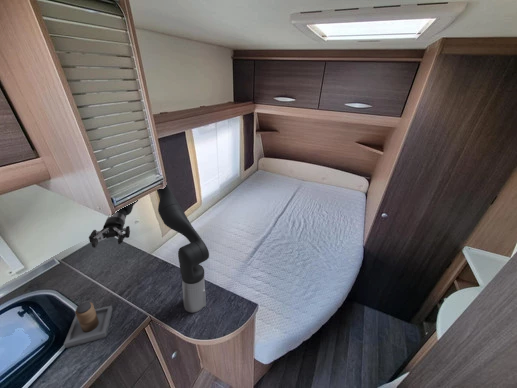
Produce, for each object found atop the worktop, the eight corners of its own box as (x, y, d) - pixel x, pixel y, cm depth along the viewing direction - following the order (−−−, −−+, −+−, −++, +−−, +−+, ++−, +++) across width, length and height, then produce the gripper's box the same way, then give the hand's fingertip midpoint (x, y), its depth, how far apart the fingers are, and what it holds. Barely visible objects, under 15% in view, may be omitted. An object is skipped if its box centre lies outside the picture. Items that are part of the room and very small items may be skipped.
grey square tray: (112, 309, 88) (111, 305, 87) (105, 337, 78) (104, 333, 77) (77, 317, 83) (76, 313, 82) (65, 348, 74) (63, 344, 73)
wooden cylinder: (100, 317, 84) (94, 298, 79) (96, 329, 79) (90, 310, 75) (84, 321, 82) (77, 302, 77) (80, 334, 77) (72, 314, 73)
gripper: (94, 218, 93) (82, 239, 80) (131, 214, 99) (125, 234, 85) (98, 232, 96) (87, 254, 83) (133, 227, 102) (128, 248, 88)
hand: (106, 244), depth 84 cm, fingers open, 8 cm apart
